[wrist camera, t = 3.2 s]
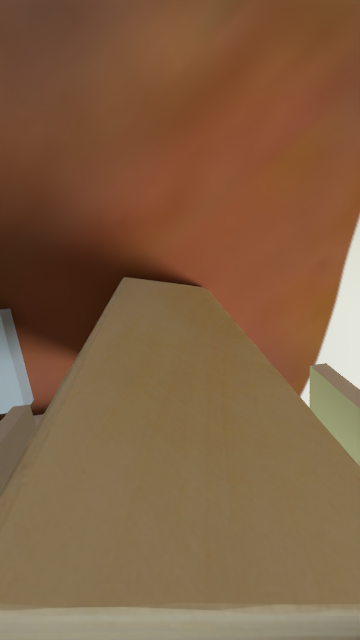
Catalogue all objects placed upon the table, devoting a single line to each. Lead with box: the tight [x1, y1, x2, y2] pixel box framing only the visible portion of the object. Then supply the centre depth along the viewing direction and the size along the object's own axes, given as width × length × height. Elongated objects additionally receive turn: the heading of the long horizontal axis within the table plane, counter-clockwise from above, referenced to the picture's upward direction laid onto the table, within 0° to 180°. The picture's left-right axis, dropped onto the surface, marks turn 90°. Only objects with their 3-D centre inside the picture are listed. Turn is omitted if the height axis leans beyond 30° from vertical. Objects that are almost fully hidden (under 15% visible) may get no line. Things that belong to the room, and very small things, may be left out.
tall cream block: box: [0, 277, 360, 640], centre depth 14 cm, size 8×7×21 cm
